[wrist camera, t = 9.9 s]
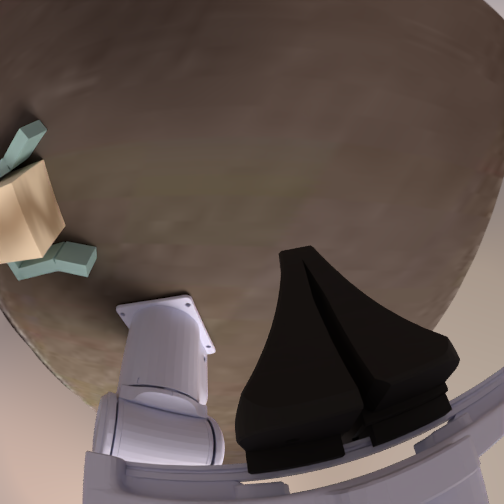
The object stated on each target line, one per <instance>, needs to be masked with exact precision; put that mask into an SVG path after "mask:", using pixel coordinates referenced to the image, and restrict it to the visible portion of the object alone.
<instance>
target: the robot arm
mask: <svg viewBox="0 0 504 504" xmlns="http://www.w3.org/2000/svg"><path fill="white" fill-rule="evenodd" d="M279 260H280V268H281V281H280V291H279V297H278V302H277V307H276V312H275V316H274V320H273V323H272V327H271V330H270V333H269V336H268V339H267V341H266V344H265V347H264V349H263V351H262V354H261V356H260V358H259V360H258V363H257V365H256V367H255V369H254V371H253V373H252V375H251V377H250V379H249V381H248V382H247V384H246V386H245V388H244V389H243V391H242V393H241V397H240V401H239V404H238V409H237V413H236V419H235V432H236V441H237V443H238V444H239V445H240V446H241V447H242V448H243V449H244V450H245V451H246V460H247V463H241V464H227V465H222V462H223V458H224V450H225V445H224V438H223V434H222V431H221V429H220V427H219V425H218V423H217V422H216V421H215V419H213V418H212V417H210V416H207V406H206V402H207V398H208V385H207V354H212V353H215V347H214V345H213V343H212V341H211V339H210V337H209V334H208V332H207V330H206V328H205V326H204V324H203V322H202V319H201V317H200V315H199V313H198V311H197V308H196V306H195V304H194V302H193V300H192V297H191V296H189V295H181V296H174V297H168V298H162V299H156V300H149V301H142V302H136V303H129V304H122V305H117V307H116V311H117V313H118V314H119V316H120V317H121V318H122V320H123V321H124V323H125V324H126V325H127V327H128V328H129V332H128V337H127V341H126V346H125V351H124V356H123V361H122V366H121V371H120V377H119V383H118V389H117V392H116V394H115V393H112V392H108V393H107V394H106V395H104V396H102V397H101V400H100V403H99V407H98V411H97V416H96V422H95V428H94V436H93V452H90V451H87V452H86V456H85V466H84V480H83V481H84V482H83V504H489V501H488V496H487V493H486V489H485V484H484V480H483V476H482V473H481V470H480V460H479V457H480V456H481V455H482V454H484V453H485V452H486V451H487V450H488V449H490V448H491V447H492V446H493V445H494V444H495V443H496V442H497V441H499V439H501V438H502V437H503V436H504V367H503V368H501V369H500V370H499V371H497V372H496V373H494V374H493V375H491V376H490V377H489V378H487V379H486V380H484V381H483V382H481V383H480V384H478V385H476V386H475V387H473V388H472V389H470V390H468V391H467V392H465V393H463V394H461V395H460V396H458V397H456V398H455V399H453V400H451V401H449V400H448V398H447V396H446V394H445V393H446V392H447V391H448V388H447V385H446V383H445V381H446V380H447V379H448V378H449V377H450V375H451V374H452V373H453V372H454V371H455V369H456V367H457V366H458V364H459V361H460V358H459V356H458V354H457V352H456V350H455V348H454V347H453V345H452V343H451V342H450V340H449V339H448V337H446V336H443V335H441V334H438V333H436V332H433V331H431V330H428V329H425V328H423V327H421V326H419V325H417V324H414V323H412V322H410V321H408V320H406V319H404V318H402V317H401V316H399V315H397V314H395V313H393V312H392V311H390V310H388V309H386V308H385V307H383V306H382V305H380V304H378V303H377V302H375V301H374V300H373V299H371V298H370V297H368V296H367V295H366V294H364V293H363V292H362V291H360V290H359V289H358V288H356V287H355V286H354V285H353V284H351V283H350V282H349V281H348V280H347V279H346V278H344V277H343V276H342V275H341V274H340V273H339V272H338V271H337V270H336V269H334V268H333V267H332V266H331V265H330V264H329V263H328V262H327V261H326V260H325V259H324V258H323V257H322V256H321V255H320V254H319V253H318V252H317V251H316V250H315V249H314V248H313V247H312V246H305V247H300V248H295V249H290V250H285V251H281V252H280V253H279ZM187 303H190V304H187ZM448 420H449V421H448ZM446 421H448V423H447V424H446V425H445V426H443V427H442V428H440V429H438V430H436V431H434V432H433V433H432V434H431V435H429V436H428V437H426V438H425V439H423V440H422V441H420V442H418V443H417V444H415V445H414V449H415V452H416V455H414V456H411V457H409V458H407V459H405V460H402V461H400V462H398V463H395V464H393V465H390V466H388V467H385V468H383V469H380V470H377V471H375V472H372V473H369V474H366V475H363V476H360V477H357V478H354V479H351V480H347V481H344V482H340V483H337V484H333V485H329V486H325V487H321V488H317V489H312V490H307V491H302V492H297V493H292V494H290V492H289V487H288V485H287V484H284V483H283V482H271V483H258V484H245V485H244V484H242V483H240V482H246V481H256V480H265V479H273V478H280V477H286V476H292V475H297V474H303V473H307V472H312V471H317V470H321V469H325V468H329V467H333V466H337V465H340V464H344V463H347V462H351V461H354V460H357V459H360V458H363V457H366V456H369V455H372V454H375V453H378V452H381V451H383V450H386V449H388V448H391V447H393V446H396V445H398V444H401V443H403V442H405V441H408V440H410V439H412V438H414V437H416V436H418V435H421V434H422V433H425V432H427V431H429V430H431V429H433V428H435V427H437V426H439V425H440V424H442V423H444V422H446Z"/></svg>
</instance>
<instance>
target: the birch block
mask: <svg viewBox="0 0 504 504" xmlns="http://www.w3.org/2000/svg"><path fill="white" fill-rule="evenodd" d="M65 226H66V225H65V223H64V220H63V218H62V215H61V212H60V210H59V207H58V204H57V201H56V198H55V195H54V192H53V189H52V186H51V183H50V180H49V177H48V173H47V170H46V166H45V163H44V159H43V160H40V161H38V162H35V163H32V164H30V165H27V166H25V167H22V168H20V169H17V170H15V171H13V172H10V173H8V174H6V175H4V176H2V177H0V264H2V263H9V262H16V261H23V260H30V259H37V258H43V256H44V255H45V253H46V252H47V251H48V249H49V248H50V246H51V245H52V243H53V242H54V241H55V239H56V238H57V237H58V235H59V234H60V232H61V231H62V230H63V228H64V227H65Z"/></svg>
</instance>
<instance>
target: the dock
mask: <svg viewBox="0 0 504 504" xmlns="http://www.w3.org/2000/svg"><path fill="white" fill-rule="evenodd" d="M46 131H47V129H46V127H45V126H44V125H43V124H42V123H41V122H40V120H37V121H35V122H32V123H30V124H28V125H25V126H23V127H21V128H20V129H19V130H18V132H17V134H16V135H15V137H14V139H13V141H12V142H11V144H10V146H9V148H8V150H7V152H6V154H5V156H4V158H2V159H1V160H0V177H2V176H3V175H5V174H6V173H8V172H9V171H11V170H12V169H14V168H15V167H17V166H18V165H19V164H21V163H22V162H24V161H25V160H27V159H28V158H29V157H30V155H31V154H32V152H33V150H34V149H35V147H36V146H37V144H38V143H39V141H40V140H41V138H42V137H43V135H44V134H45V132H46ZM96 259H97V253H96V247H94V246H89V245H84V244H78V243H73V242H68V241H66V243H65V242H61V243H58V244H54V245H51V246H50V248H49V249H48V251H47V252H46V253H45V255H44V256H43V258H37V259H30V260H23V261H16V262H9V263H7V264H8V265H9V267H10V268H11V270H12V271H13V273H14V275H15V276H16V278H17V279H18V281H19V280H23V279H27V278H31V277H35V276H39V275H43V274H47V273H51V272H56V271H62V272H66V273H71V274H75V275H80V276H84V277H88V275H89V273H90V271H91V269H92V267H93V265H94V263H95V261H96Z"/></svg>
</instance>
